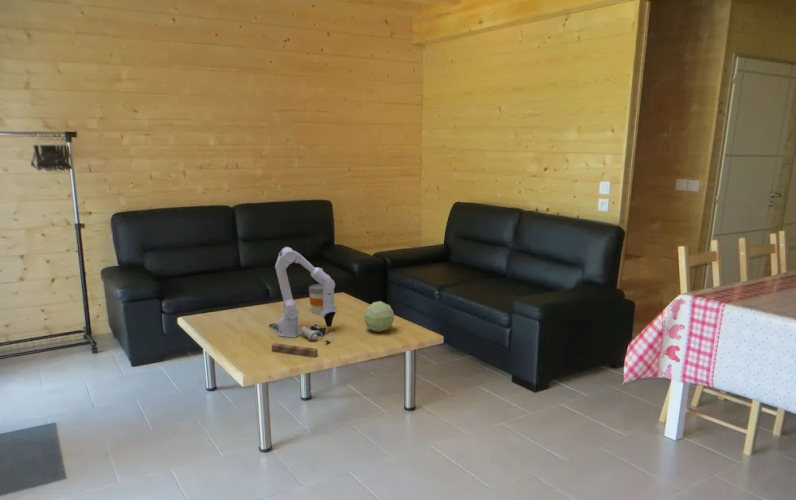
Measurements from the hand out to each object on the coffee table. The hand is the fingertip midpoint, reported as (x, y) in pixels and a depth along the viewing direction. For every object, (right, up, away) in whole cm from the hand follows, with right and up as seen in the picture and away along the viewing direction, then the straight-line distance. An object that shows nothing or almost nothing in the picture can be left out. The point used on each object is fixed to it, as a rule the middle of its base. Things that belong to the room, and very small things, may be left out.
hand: (328, 326), depth 295 cm
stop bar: (-12, -8, -31) cm, 34 cm away
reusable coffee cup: (-9, +4, +33) cm, 34 cm away
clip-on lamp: (-3, -5, -12) cm, 13 cm away
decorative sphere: (+26, -3, +1) cm, 26 cm away
